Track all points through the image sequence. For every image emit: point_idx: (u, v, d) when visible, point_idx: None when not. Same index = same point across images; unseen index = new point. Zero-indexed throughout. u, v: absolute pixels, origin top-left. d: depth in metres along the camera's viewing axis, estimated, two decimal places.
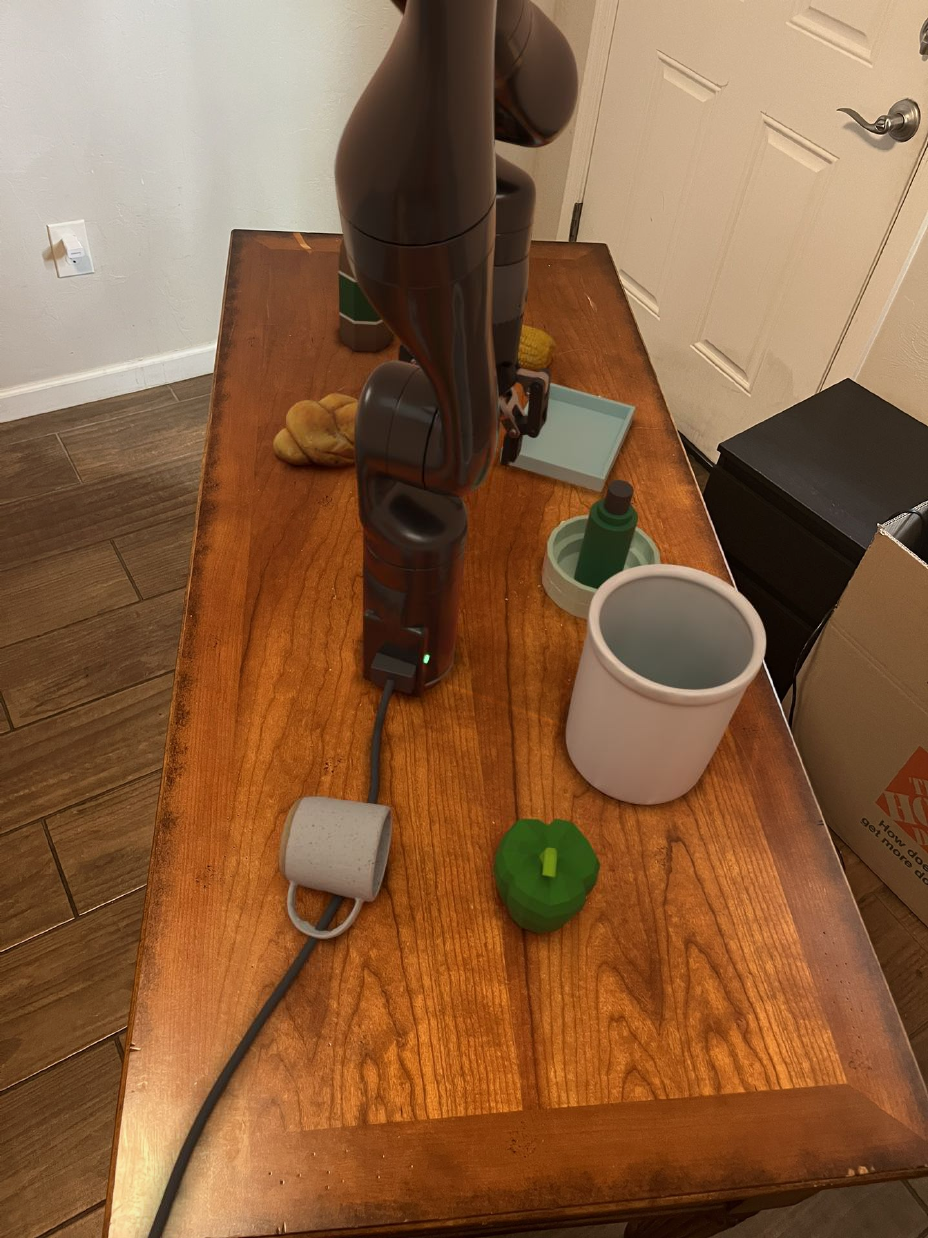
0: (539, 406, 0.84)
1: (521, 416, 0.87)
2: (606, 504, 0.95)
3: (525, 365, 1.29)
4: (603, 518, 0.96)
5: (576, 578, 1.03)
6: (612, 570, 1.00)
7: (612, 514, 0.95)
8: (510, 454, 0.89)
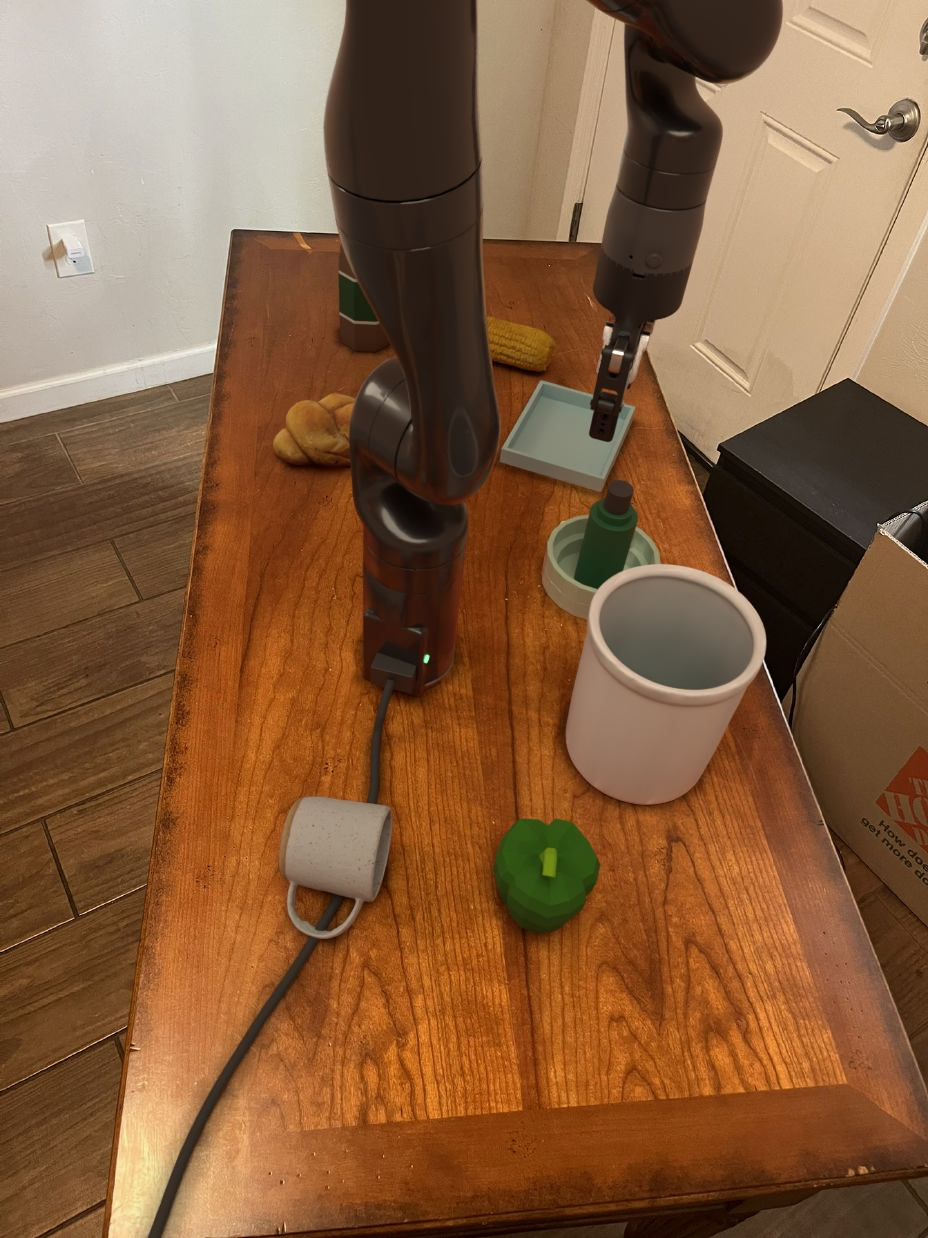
0: (598, 374, 0.78)
1: None
2: (606, 504, 0.95)
3: (525, 365, 1.29)
4: (603, 518, 0.96)
5: (576, 578, 1.03)
6: (612, 570, 1.00)
7: (612, 514, 0.95)
8: (594, 425, 0.84)
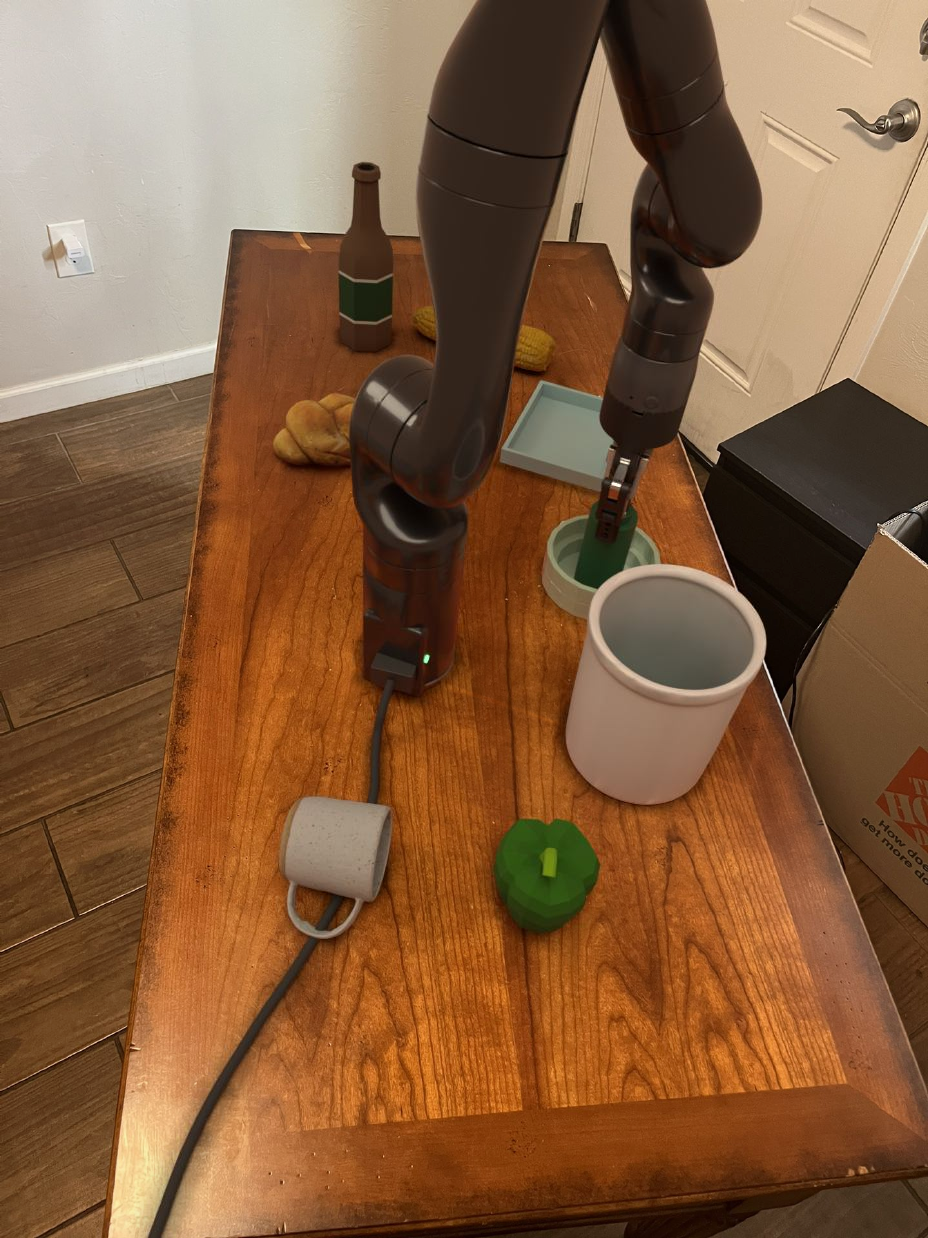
0: (599, 498, 0.88)
1: None
2: None
3: (525, 365, 1.29)
4: None
5: (576, 578, 1.03)
6: (612, 570, 1.00)
7: None
8: (599, 529, 0.95)
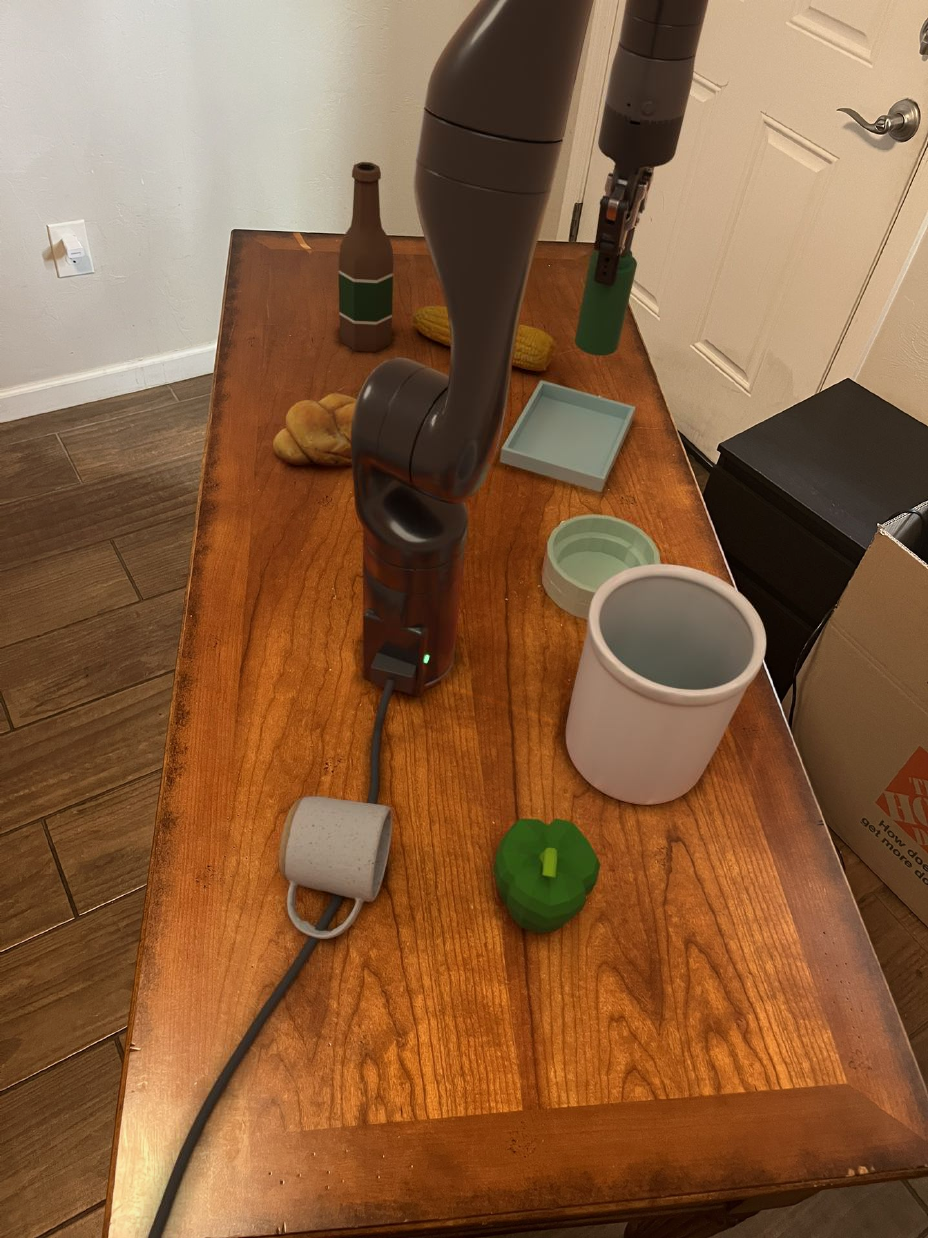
0: (598, 221, 0.91)
1: None
2: None
3: (525, 365, 1.29)
4: None
5: (577, 338, 1.06)
6: (611, 322, 1.02)
7: None
8: (598, 269, 0.97)
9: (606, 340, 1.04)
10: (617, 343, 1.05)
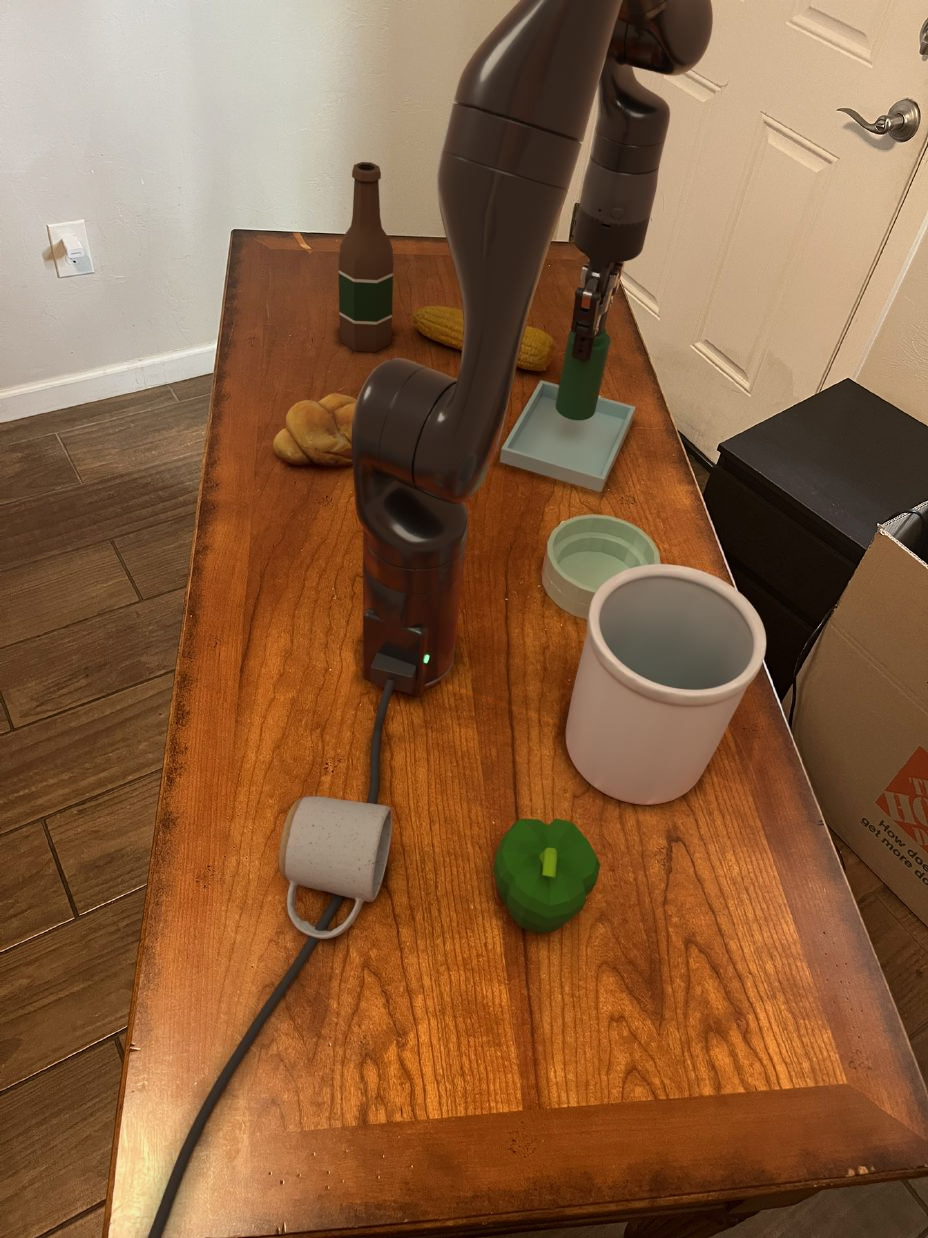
0: (574, 308, 1.01)
1: None
2: None
3: (525, 365, 1.29)
4: None
5: (557, 404, 1.16)
6: (588, 392, 1.13)
7: None
8: None
9: (583, 407, 1.14)
10: (594, 409, 1.16)
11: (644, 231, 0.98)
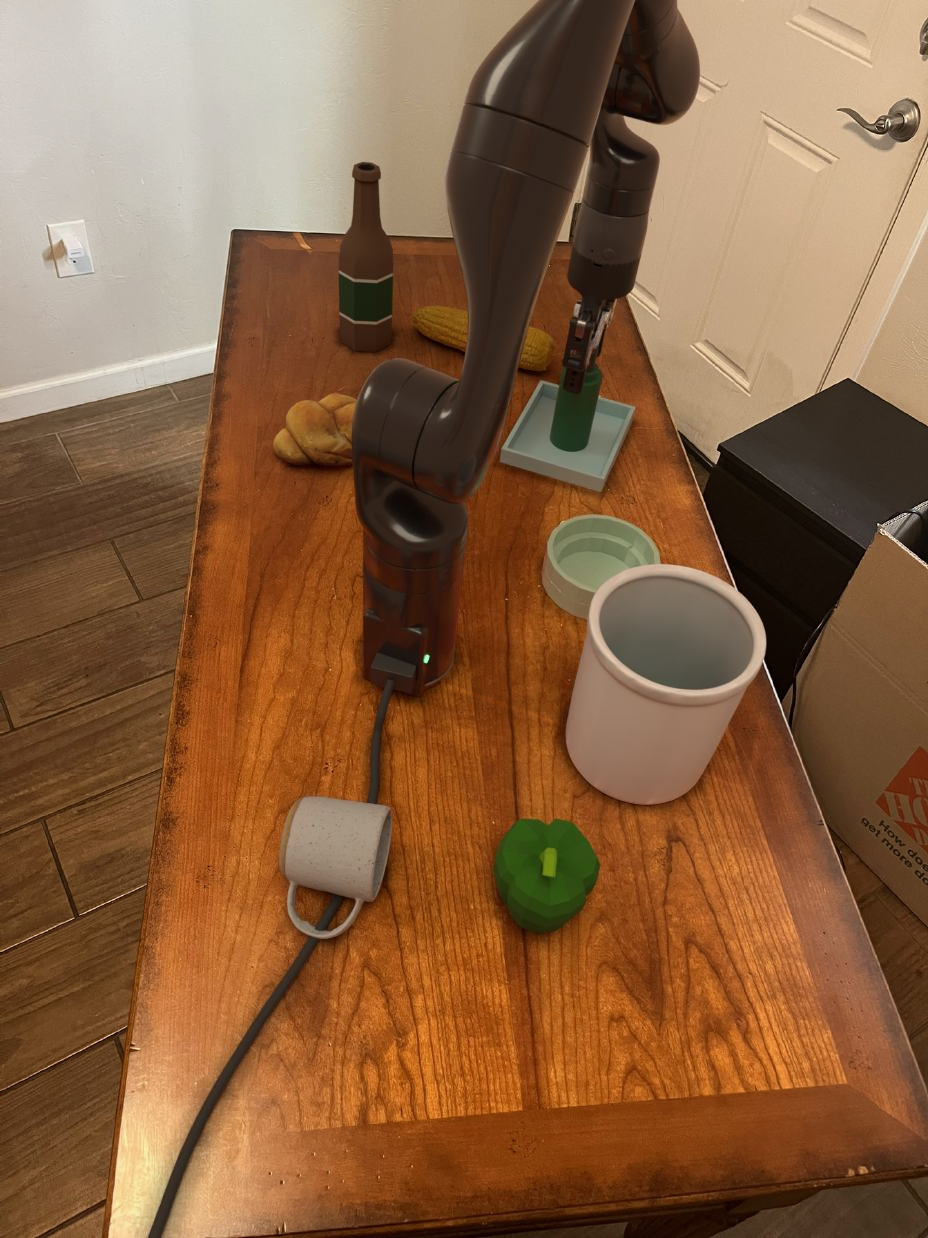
0: (567, 338, 1.03)
1: None
2: None
3: (525, 365, 1.29)
4: None
5: (551, 435, 1.20)
6: (581, 425, 1.16)
7: None
8: (567, 380, 1.09)
9: (577, 439, 1.18)
10: (587, 441, 1.19)
11: (635, 270, 1.01)
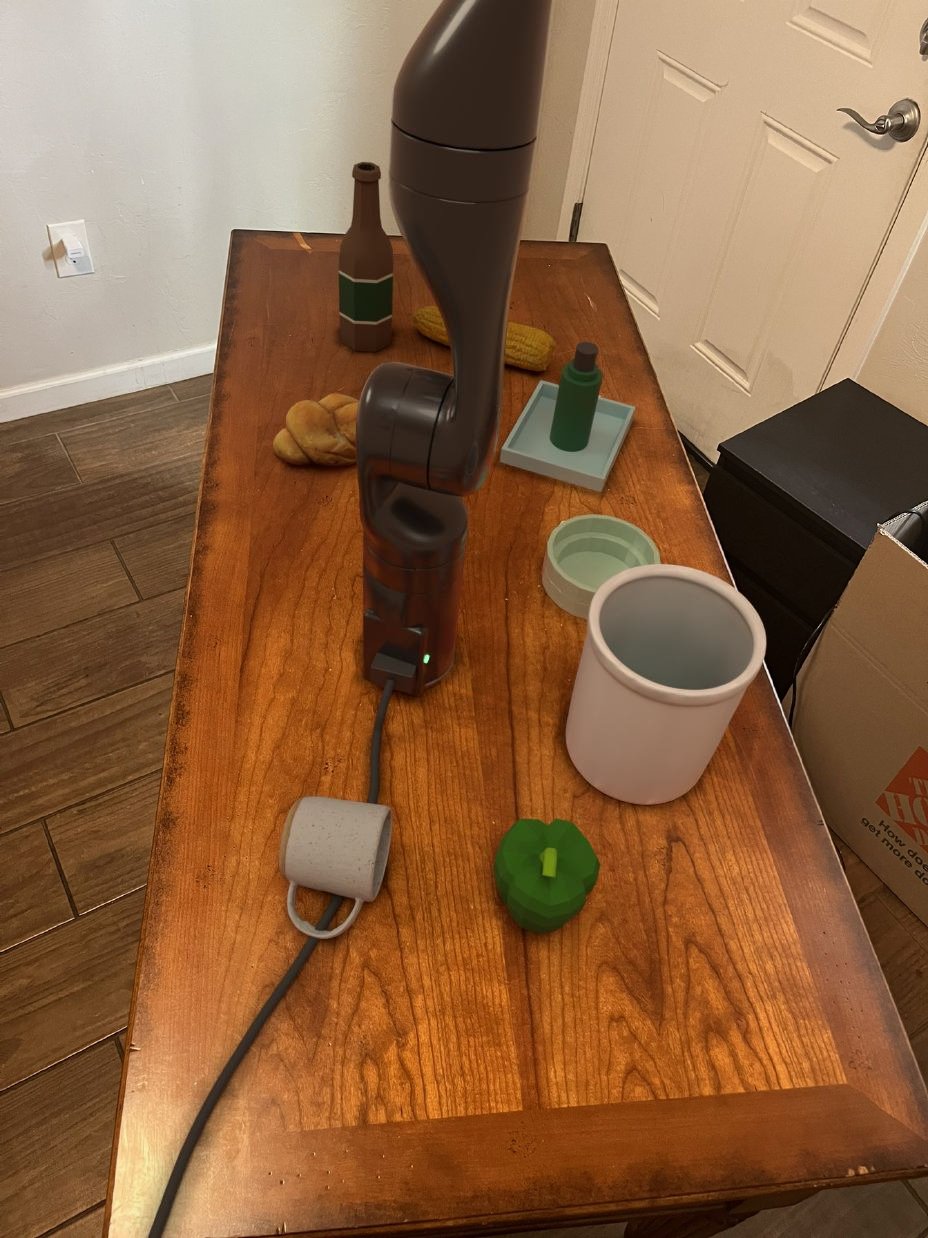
0: None
1: None
2: (575, 362, 1.12)
3: (525, 365, 1.29)
4: (572, 375, 1.12)
5: (551, 435, 1.20)
6: (581, 425, 1.16)
7: (580, 371, 1.12)
8: None
9: (577, 439, 1.18)
10: (587, 441, 1.19)
11: None
